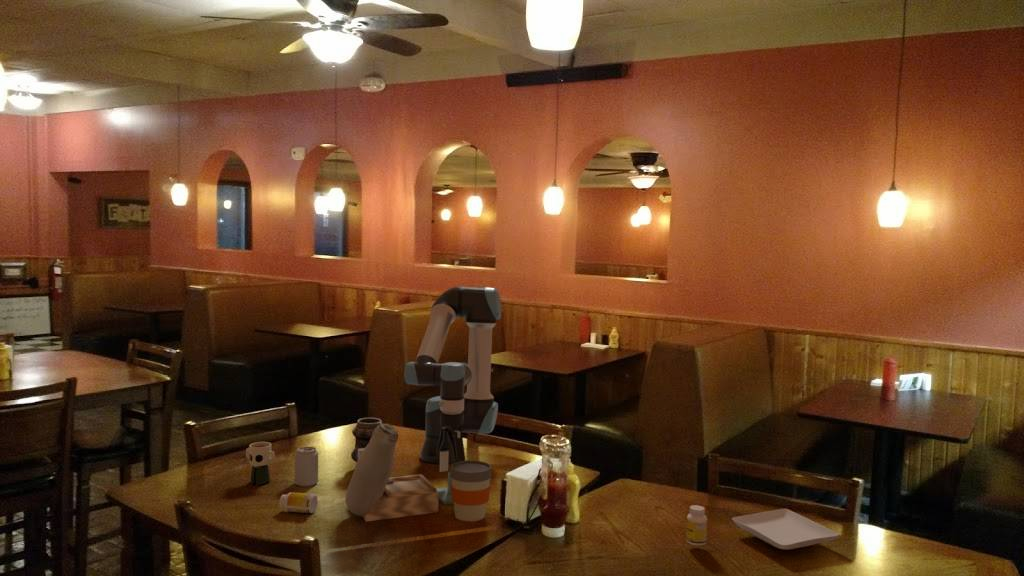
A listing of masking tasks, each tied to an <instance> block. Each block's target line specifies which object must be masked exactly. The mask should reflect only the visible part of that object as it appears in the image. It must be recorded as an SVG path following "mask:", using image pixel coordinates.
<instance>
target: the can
mask: <svg viewBox="0 0 1024 576" xmlns="http://www.w3.org/2000/svg"><path fill="white" fill-rule="evenodd" d="M318 482H319V452H318V451H317V448H316V447H314V446H301V447H299V448H297V449H296V452H295V454H294V484H295V485H297V486H298V487H300V488H301V487H302V488H306V487H307V488H308V487H313V486H315V485H316V484H317V483H318Z"/></svg>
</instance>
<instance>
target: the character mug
mask: <svg viewBox="0 0 1024 576" xmlns="http://www.w3.org/2000/svg"><path fill="white" fill-rule="evenodd" d="M275 453H276V452H275V451H273V450H272V443H271V442H268V441H257V442H253V443H250V444H249V445H248V447H247V448H246V449H245V458H246V459H248V463H249V465H250V466H252V468H251V474H250V480H249V481H250V484H252V485H254V482H255V485H257V486H258V485H259V486H260V485H265V484H267V483H268V482H270V481H271V474H270V468H269V464H271V463H272V462H275V459H276V458H275V457H276V455H275Z"/></svg>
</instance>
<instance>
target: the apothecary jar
mask: <svg viewBox="0 0 1024 576" xmlns="http://www.w3.org/2000/svg"><path fill="white" fill-rule="evenodd" d="M380 424H383V422H382V420H381V419H380V418H377V417H363V418H359V419H358V420H357V421H356V425H355V426H354V427H352V431H351V433H352V435H353V437H354V438H355V444H354V449H352V451H351V454H350V458H351V459H352V460H353V461H354V462H356V463H357V461H358V449H360V448H366V446H367V445H368V444H369V442H370V439H371V437H372V434H373V431H374V430H375V428H376V427H377V426H378V425H380Z"/></svg>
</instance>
